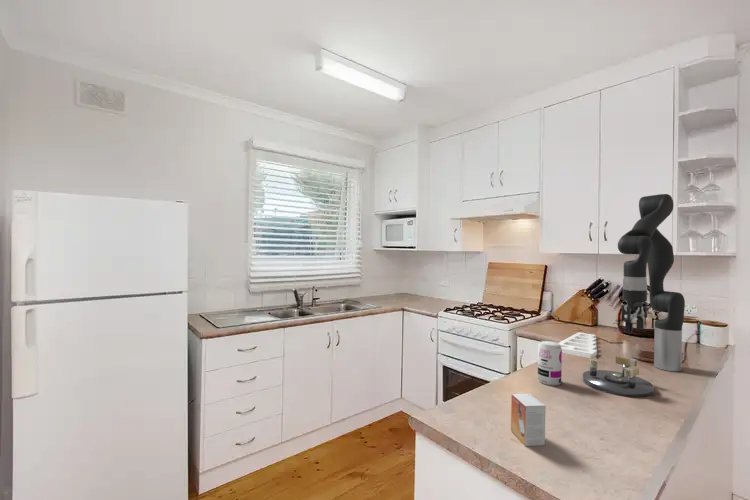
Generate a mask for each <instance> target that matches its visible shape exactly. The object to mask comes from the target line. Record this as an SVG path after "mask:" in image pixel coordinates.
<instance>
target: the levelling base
mask: <svg viewBox="0 0 750 500" xmlns="http://www.w3.org/2000/svg"><path fill="white" fill-rule="evenodd" d="M622 373H623V372H620V371H614V370H613V371H612V370H606V369H597V376H591V375H590V370H586V371H584V372H583V373H582V382H583V383H584V384H585V385H586V386H589V387H590V388H593V389H595V390H597V391H601V392H604V393H606V394H611V395H615V396H621V397H629V398H646V397H651V396H652V395H653V394H654V385H653V384H652V383H651V382H650V381H648V380H646V379H644V378H642V377H639V376H636V377H635V388H632V387H629V386H628V377H626V376H624V375H623V374H622Z"/></svg>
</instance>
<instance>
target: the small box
mask: <svg viewBox="0 0 750 500" xmlns="http://www.w3.org/2000/svg"><path fill="white" fill-rule="evenodd" d="M510 406H511V407H510V409H511V410H510V412H511V413H510V431H511V432H512V433H513V435H515V437H516V438H517V439H518V440H519V441H520V442H521V443H522V445H523V446H524V447H534V446H536V447H537V446H540V447H541V446H545V444H546V443H545V442H546V413H547V412H546V409H547V408H546V407H547V406H546V405H545V404H543V403H542V402H541V401H540V400H539V399H537V398H536V397H534V396H533V395H532V394H531V393H512V394H511V405H510Z"/></svg>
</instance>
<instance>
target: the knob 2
mask: <svg viewBox="0 0 750 500" xmlns="http://www.w3.org/2000/svg"><path fill="white" fill-rule="evenodd" d="M639 375H640V367H639V366H637V367H636V366H630V367H628V368H624V376H626V377H628V386H629V387H632V388H635V377H637V376H639Z"/></svg>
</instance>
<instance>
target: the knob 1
mask: <svg viewBox="0 0 750 500" xmlns="http://www.w3.org/2000/svg"><path fill="white" fill-rule="evenodd" d="M597 370H598V358H597V356H590V358H589V371H590V375H591V376H597Z"/></svg>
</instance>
